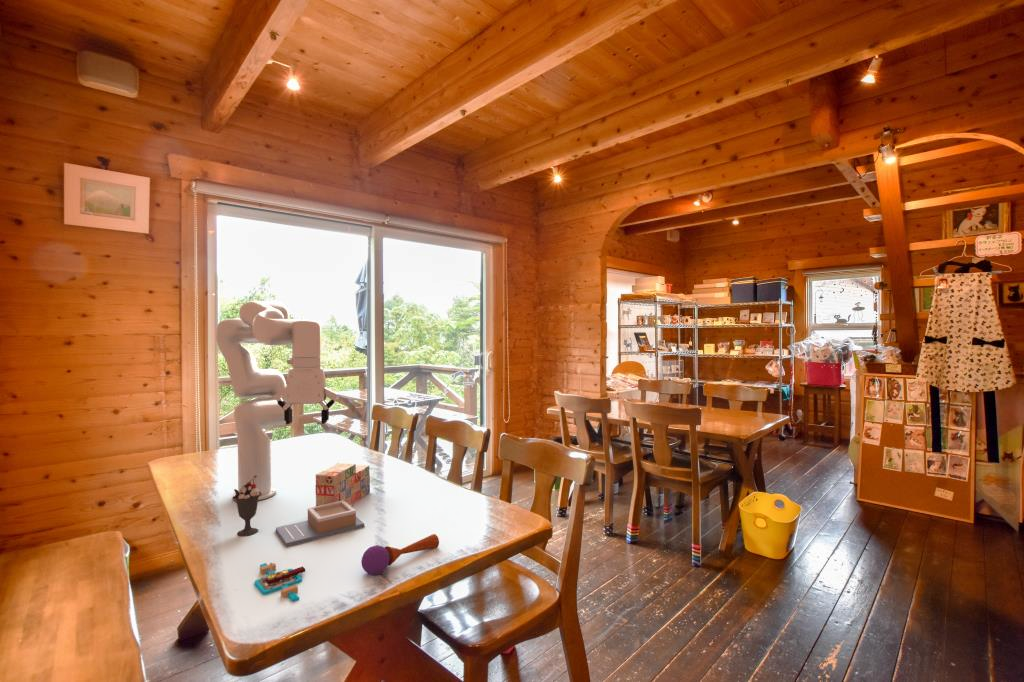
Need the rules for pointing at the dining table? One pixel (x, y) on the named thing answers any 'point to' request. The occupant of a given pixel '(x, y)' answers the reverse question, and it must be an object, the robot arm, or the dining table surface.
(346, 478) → the stack of blocks
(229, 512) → the dining table surface
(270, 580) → the gear mechanism
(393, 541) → the dining table surface
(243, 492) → the sundae
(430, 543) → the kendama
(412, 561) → the dining table surface
